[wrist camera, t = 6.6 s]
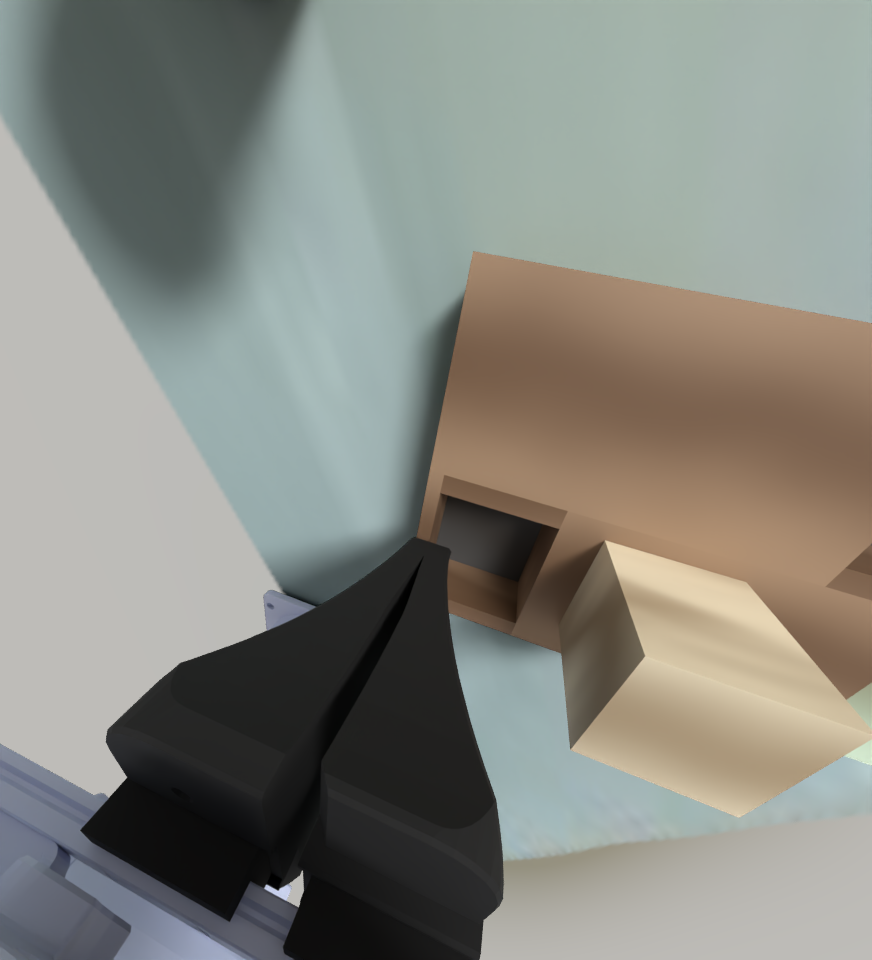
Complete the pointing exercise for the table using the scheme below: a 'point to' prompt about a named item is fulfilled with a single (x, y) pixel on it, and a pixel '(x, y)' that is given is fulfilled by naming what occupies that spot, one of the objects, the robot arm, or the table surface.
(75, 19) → the table surface
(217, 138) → the table surface
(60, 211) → the table surface
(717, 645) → the birch block
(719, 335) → the board
